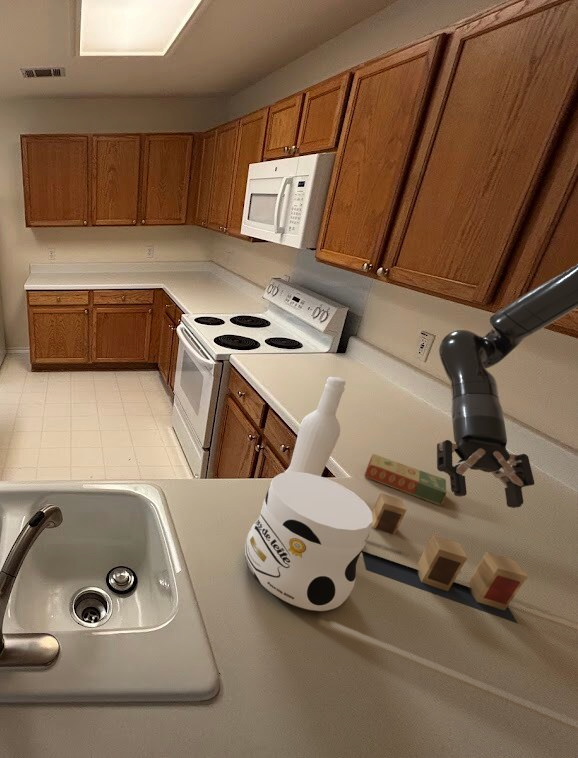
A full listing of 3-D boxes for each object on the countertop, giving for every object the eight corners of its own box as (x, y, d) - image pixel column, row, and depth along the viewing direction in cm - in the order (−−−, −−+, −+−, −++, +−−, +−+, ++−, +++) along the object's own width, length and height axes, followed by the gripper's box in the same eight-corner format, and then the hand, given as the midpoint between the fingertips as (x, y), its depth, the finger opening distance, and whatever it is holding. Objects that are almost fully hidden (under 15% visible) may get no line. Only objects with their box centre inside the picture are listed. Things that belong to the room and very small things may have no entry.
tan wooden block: (388, 528, 90) (402, 499, 87) (392, 540, 87) (407, 510, 84) (367, 522, 92) (380, 492, 89) (370, 533, 88) (384, 503, 85)
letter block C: (492, 592, 75) (514, 559, 72) (505, 611, 71) (528, 577, 68) (465, 584, 76) (485, 551, 73) (477, 602, 72) (498, 568, 69)
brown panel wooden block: (440, 575, 77) (459, 543, 74) (448, 592, 74) (468, 558, 71) (415, 567, 79) (432, 535, 76) (421, 582, 76) (439, 549, 73)
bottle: (319, 491, 101) (362, 379, 90) (311, 506, 95) (356, 388, 84) (285, 477, 106) (321, 369, 95) (275, 490, 100) (313, 376, 89)
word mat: (495, 591, 76) (497, 588, 76) (516, 626, 69) (518, 623, 69) (358, 545, 84) (359, 542, 84) (364, 572, 78) (366, 569, 77)
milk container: (222, 569, 76) (245, 489, 69) (266, 530, 86) (290, 457, 80) (322, 642, 64) (362, 553, 57) (358, 586, 74) (395, 506, 68)
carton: (367, 465, 115) (373, 452, 113) (440, 492, 105) (447, 478, 104) (363, 477, 109) (369, 463, 107) (440, 506, 99) (448, 492, 98)
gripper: (449, 407, 81) (457, 489, 75) (536, 422, 78) (552, 508, 72) (425, 420, 88) (430, 495, 82) (504, 433, 85) (516, 513, 79)
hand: (487, 501), depth 77 cm, fingers open, 8 cm apart
